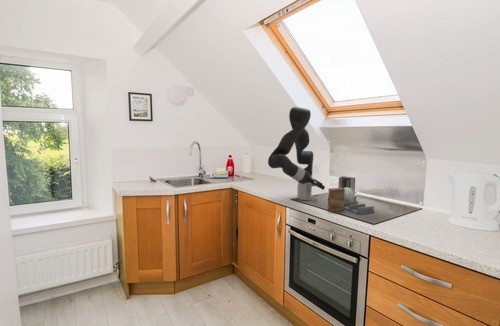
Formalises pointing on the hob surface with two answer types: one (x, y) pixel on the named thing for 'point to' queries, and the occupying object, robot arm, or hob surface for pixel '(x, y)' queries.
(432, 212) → the hob surface
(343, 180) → the coffee box
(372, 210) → the dish rack
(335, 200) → the walnut board
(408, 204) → the hob surface
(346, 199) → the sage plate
